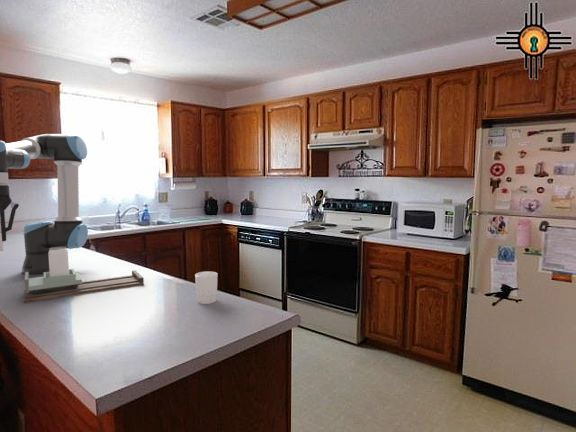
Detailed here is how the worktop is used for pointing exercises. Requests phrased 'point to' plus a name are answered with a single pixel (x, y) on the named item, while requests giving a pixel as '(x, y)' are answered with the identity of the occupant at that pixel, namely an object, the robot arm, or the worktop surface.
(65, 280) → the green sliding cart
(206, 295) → the white cup
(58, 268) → the can
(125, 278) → the track
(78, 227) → the robot arm
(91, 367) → the worktop surface
